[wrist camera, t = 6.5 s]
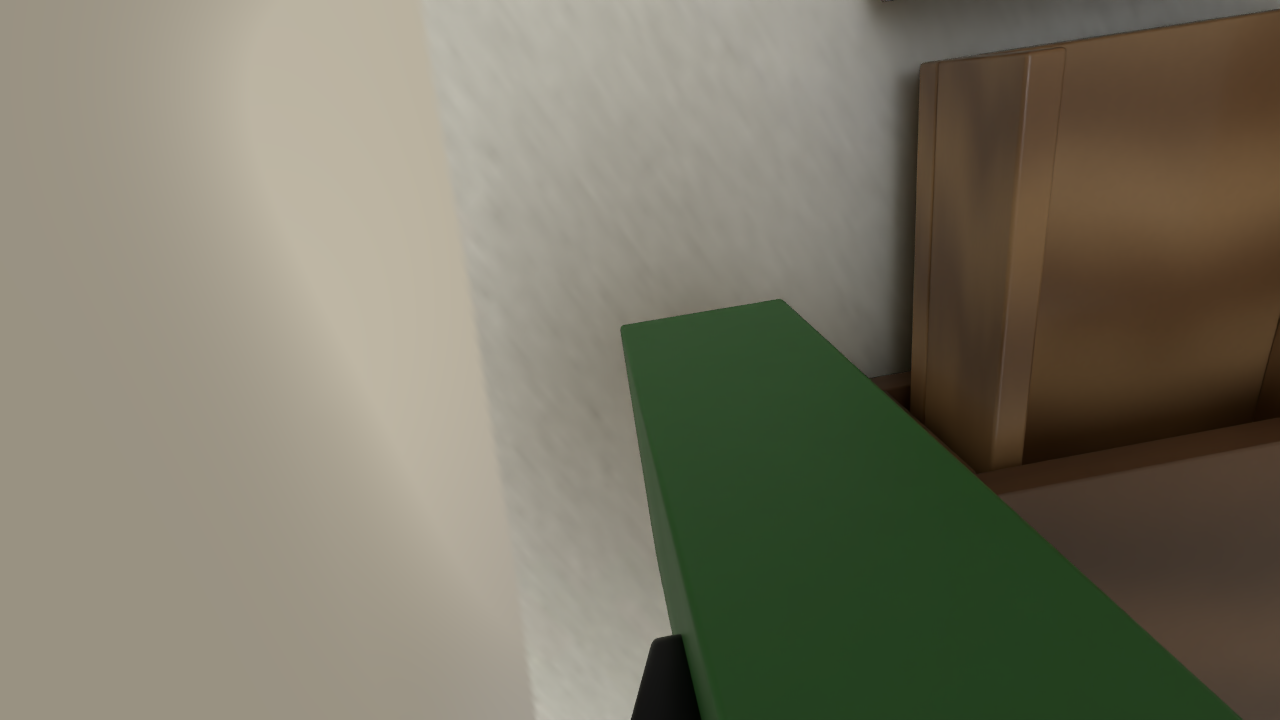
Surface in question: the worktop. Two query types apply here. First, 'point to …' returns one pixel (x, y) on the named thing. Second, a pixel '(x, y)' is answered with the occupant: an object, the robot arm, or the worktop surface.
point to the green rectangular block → (859, 549)
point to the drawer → (1098, 241)
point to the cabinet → (1170, 542)
